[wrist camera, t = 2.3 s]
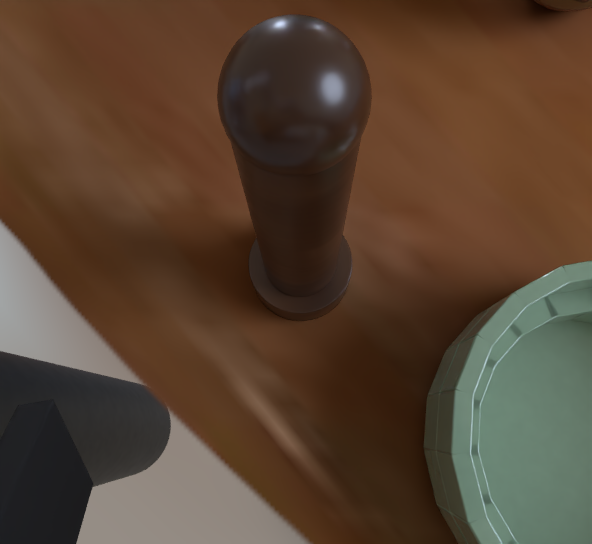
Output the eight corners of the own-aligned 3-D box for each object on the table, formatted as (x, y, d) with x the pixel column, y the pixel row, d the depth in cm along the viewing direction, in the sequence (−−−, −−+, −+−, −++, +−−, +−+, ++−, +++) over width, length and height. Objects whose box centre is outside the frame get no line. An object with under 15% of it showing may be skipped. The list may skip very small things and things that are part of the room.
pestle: (260, 328, 27) (185, 175, 10) (245, 236, 29) (159, -31, 12) (358, 311, 27) (442, 132, 10) (338, 220, 29) (385, -66, 12)
